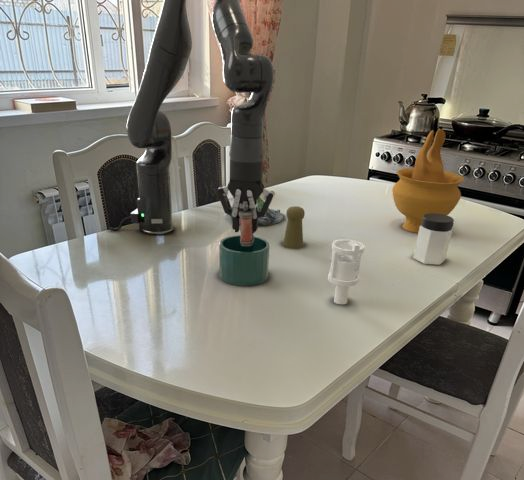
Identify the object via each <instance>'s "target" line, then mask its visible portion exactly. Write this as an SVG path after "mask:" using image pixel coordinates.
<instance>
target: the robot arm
mask: <svg viewBox="0 0 524 480" xmlns="http://www.w3.org/2000/svg"><path fill="white" fill-rule="evenodd" d="M247 21H248V20H247V19H246V17H245V14H244V12H243V9H242V6H241V2H240V0H215V1H214V3H213V6H212V11H211V23H212V28H213V32H214V34H215V37H216V40H217V43H218V45H219V48H220V53H221V54H220V55H221V61H222V80H223V83H224V85H225V87H226V88H227V90H229V91H230V92H231V93H236V94H250V97H249V98H248V100H247V101H246V102H245V103H241V104H239V105H236V106H234V107H233V108H232V109H231V115H230V119H231V120H230V121H231V122H230V142H229V151H228V152H229V153H228V154H229V181H228V183H227V185H225V186H220V187H218V189H216V194H217V197H218V199H219V201H220V204H221V206H222V210H223V211H224V214H226V215H228V214H230V215H232V217H231V219H232V221H231V222H232V224H231V225H232V226H231V228H232V230H234V233H239V231H240V225H239V217H240V216H239V209H240V206H241V203H243V202H244V201H247V202H248V204H249V207H250V210H251V211H252V213H253V215H252V233H253V235H254V234H255V233H257V231H258V228H259V225H258V218H259V217H264V215H265V214H266V212H267V210H268V208H270V205H271V203H272V201H273V199H274V197H275V193H276V192H275V191H273V190H271V191H270V190H268V189H266V188H265V185H264V183H263V182H264V181H263V180H264V179H263V177H264V175H263V174H264V155H265V154H264V151H265V150H264V149H265V145H264V123H265V121H264V120H265V114H266V109H267V105H268V102H269V98H270V95H271V91H272V89H273V85H274V80H275V69H274V65H273V62H272V60H271V58H269V56H268V55H266V54H259V53H257V54H256V53H251V52H252V50H253V47H254V37H253V35H252V32H251V30H250V27H249V24H248V22H247ZM189 23H190V22H189V18H188V13H187V0H163V2H162V6H161V10H160V13H159V18H158V21H157V23H156V24H157V25H156V28H155V31H154V34H153V38H152V42H151V45H150V48H149V53H148V57H147V62H146V65H145V68H144V72H143V75H142V79H141V82H140V85H139V89H138V91H137V94H136V97H135V100H134V101H133V104H132V106H131V110H130V111H129V115H128V118H127V123H126V134H127V138H128V140H129V142H130V144H131V145H132V146H133V147H134V148H137V149H145V151H144V153H143V155H142V156H141V157H140V158H139V159H138V160H137V161H136V164H135V167H136V176H137V187H138V198H137V199H136V209H134V210H133V211H131V212H130V214H129V216H126V217H125V218H123V219H122V220H120V223H119V225H118V227H108V230H109V231H120V230H121V229H122V227H123V224H124V223H125V222H126V221H128V220H130V223H131V224H138V230H139V232H142V233H145V234H148V235H166V234H169V233H171V232H173V230H174V226H173V210H172V192H171V191H172V190H171V175H170V166H171V163H172V159H173V158H172V154H173V153H172V152H173V151H172V150H173V149H172V143H173V141H172V138H173V137H172V127H171V123H170V120H169V117H168V116H167V115H166V114H165V112H163V111H162V110H160V109H161V106H162V104H163V103H164V101H165V99H166V98H167V97H168V96H169V94H171V92H172V91H173V90H174V88H175V87H176V86H177V85H178V83H179V82H180V80H181V79H182V77H183V75H184V73H185V71H186V69H187V66H188V63H189V59H190V56H191V53H192V47H193V41H192V39H193V38H192V31H191V28H190V24H189ZM229 193H230V194H231V196H232V198H233V199H234V200H233V203H234V204H233V203H232V205H231V201H230V199H229V196H228V195H229ZM261 195H263V201H264V202H265V203H264V205H263V207H262V209H261V210H260V211H258V203H257V199H258V198H259V196H260V197H261ZM232 206H233V208H232Z"/></svg>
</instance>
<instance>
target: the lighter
mask: <svg viewBox="0 0 524 480" xmlns="http://www.w3.org/2000/svg"><path fill="white" fill-rule="evenodd" d="M252 215H253V213H252V211H251V210H250V207H249V204H248V202H247V201H244V202H243V203H242V206H241V207H240V209H239V216H240V217H239V225H240V229H239V231H240V235H241V236H240V243H241V245H242V246H251V245H252V244H253V243H254V236H255V235H254V234H253V233H252Z"/></svg>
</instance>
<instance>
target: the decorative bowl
mask: <svg viewBox="0 0 524 480" xmlns="http://www.w3.org/2000/svg"><path fill="white" fill-rule="evenodd" d="M434 133H435V135H434ZM445 140H446V132H445V131H444V130H443V129H441V128H439V129H437V131H436V132H434V130H433V129H432V130H430V131H429V133H428V134H427V136H426V138H425V141H424V144H423V146H422V147H421V148H420V150H419V152H418V154H417V156H416V159H415V162H414V167H408V168H401V169H397V171H396V174H397V176H398V178H399V180H397V182H396V183H394V185H393V186H392V191H391V193H392V198H393V202H394V205H395V207H396V209H397V210H398V212H399V213H400V214H402V215H403V216H404V217H405V222H404V223H403V224H402V228H403V230H406V231H408V232H411V233H416V234H418V233H419V228H420V226H421V224H422V220H423V216H424V215H425V214H429V213H436V214H443V215H447V216H449V214H451V212H453V210H454V209H455V208H456V207H457V205H458V204H459V202H460V200H461V198H462V197H461V196H462V193H461V190H460V189H459V187H458V186H459V185H460V184H462V182H464V180H465V178H464V177H463V176H461V175H460V174H457V173H454V172H451V171H446V170H444V163H443V158H442V154H441V150H442V147H443V145H444V143H445Z"/></svg>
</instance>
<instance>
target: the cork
mask: <svg viewBox="0 0 524 480" xmlns="http://www.w3.org/2000/svg"><path fill="white" fill-rule="evenodd" d="M305 214H306V213H305V210H304V208H303V207H301V206H295V205H293V206H289V207H288V208H287V210H286V219H287V221H286V227H285V231H284V237H283V242H282V246H283V247H285V248H288V249H300V248H303V247H304V234H303V233H304V232H303V231H304V230H303V219H304V218H305Z"/></svg>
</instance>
